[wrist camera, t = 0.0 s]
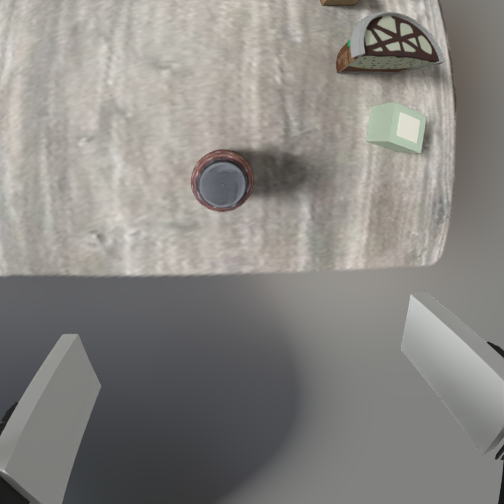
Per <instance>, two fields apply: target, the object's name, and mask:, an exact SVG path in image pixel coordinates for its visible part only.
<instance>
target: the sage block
mask: <svg viewBox="0 0 504 504" xmlns="http://www.w3.org/2000/svg"><path fill="white" fill-rule="evenodd" d="M425 123H426V116H425V115H423V114H421V113H419V112H417V111H414V110H412V109H410V108H408V107H406V106H403V105H401V104H399V103H396V102H391V103H386V104H382V105H377V106H372V107H371V113H370V119H369V125H368V131H367V137H366V142H369V143H372V144H375V145H378V146H381V147H384V148H387V149H390V150H393V151H396V152H408V153H419V154H421V149H422V143H423V137H424V130H425Z"/></svg>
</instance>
